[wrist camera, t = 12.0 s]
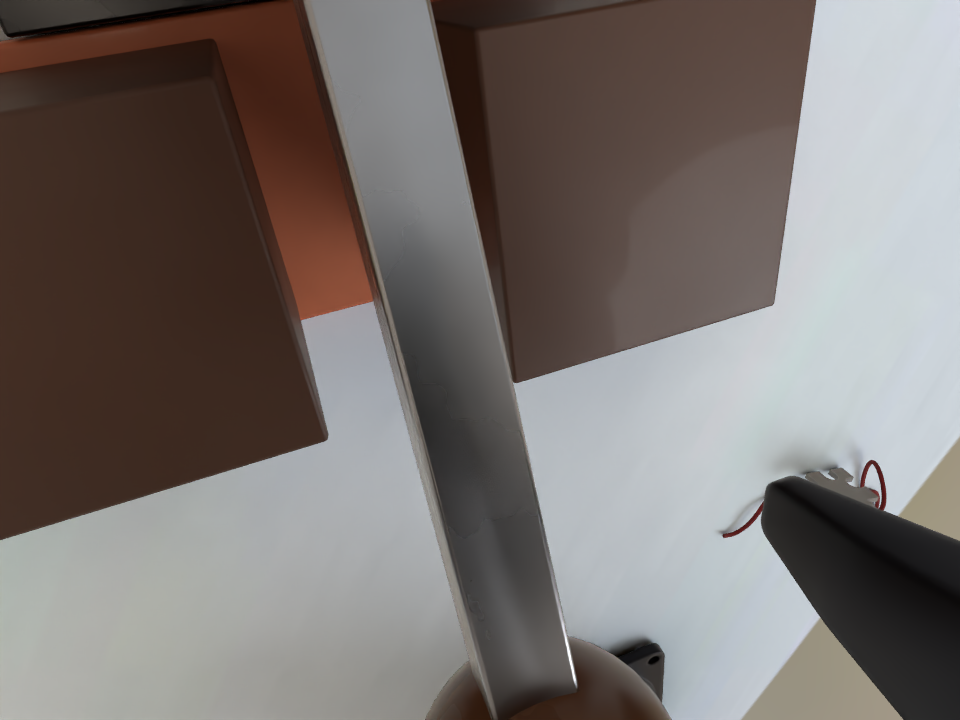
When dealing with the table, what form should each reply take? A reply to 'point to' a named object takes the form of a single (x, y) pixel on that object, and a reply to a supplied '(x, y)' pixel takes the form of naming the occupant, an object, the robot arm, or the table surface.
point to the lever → (453, 367)
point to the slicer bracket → (86, 12)
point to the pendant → (838, 490)
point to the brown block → (328, 225)
